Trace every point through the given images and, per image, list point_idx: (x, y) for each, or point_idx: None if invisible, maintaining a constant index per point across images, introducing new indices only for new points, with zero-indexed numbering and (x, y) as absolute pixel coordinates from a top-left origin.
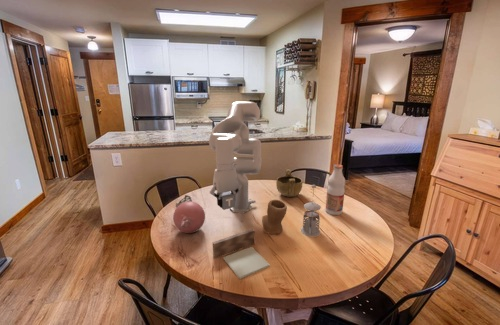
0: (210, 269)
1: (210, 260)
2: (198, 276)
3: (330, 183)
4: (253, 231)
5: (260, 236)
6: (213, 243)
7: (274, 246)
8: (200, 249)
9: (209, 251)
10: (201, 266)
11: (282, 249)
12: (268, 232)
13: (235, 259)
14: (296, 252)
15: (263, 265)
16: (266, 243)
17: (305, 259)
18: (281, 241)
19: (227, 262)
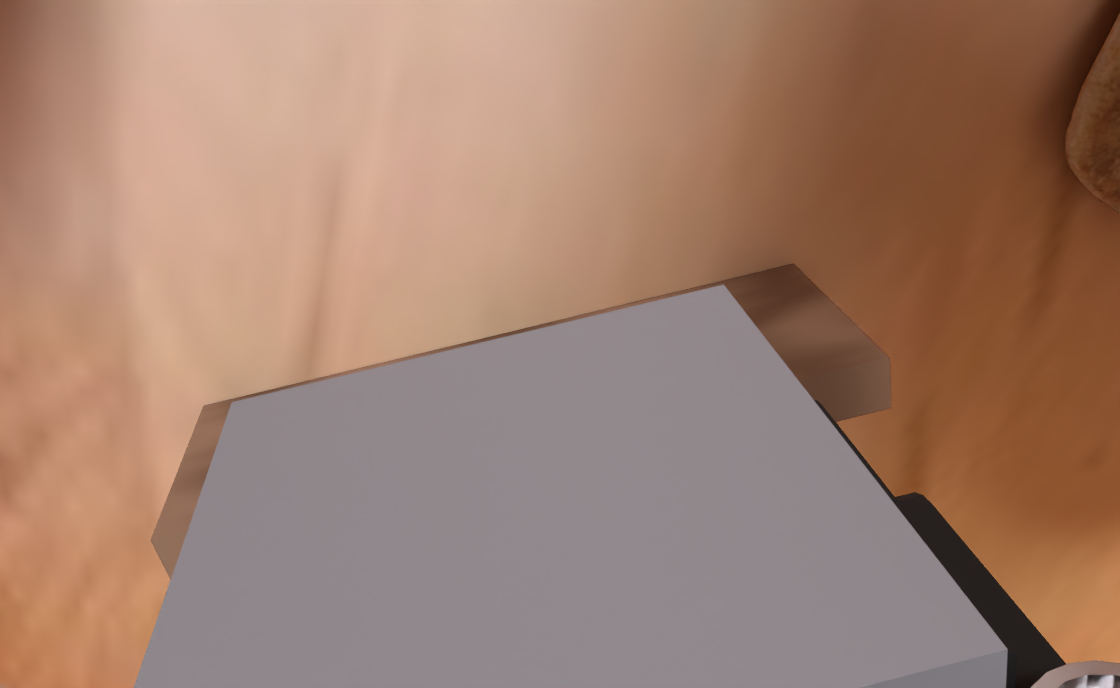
0: (158, 596)
1: (163, 465)
2: (22, 659)
3: None
4: (864, 409)
5: (955, 164)
6: (166, 569)
7: (978, 414)
8: (8, 209)
9: (154, 293)
10: (47, 535)
11: (1018, 481)
12: (1096, 189)
13: None
14: (1102, 552)
15: None
16: (933, 337)
17: (1093, 647)
18: (1110, 349)
19: None
